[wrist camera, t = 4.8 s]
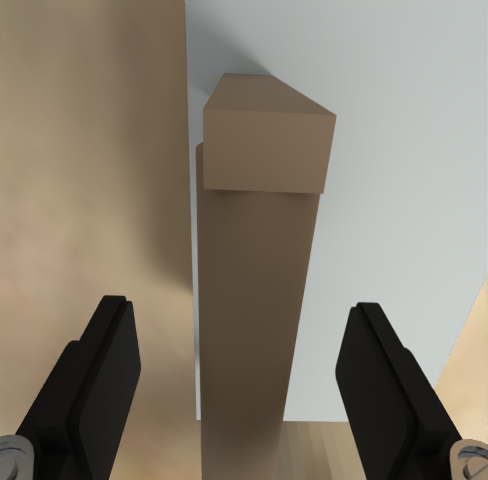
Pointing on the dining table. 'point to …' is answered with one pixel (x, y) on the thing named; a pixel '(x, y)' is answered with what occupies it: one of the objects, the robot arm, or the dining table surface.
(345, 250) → the carton lid
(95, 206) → the dining table surface
